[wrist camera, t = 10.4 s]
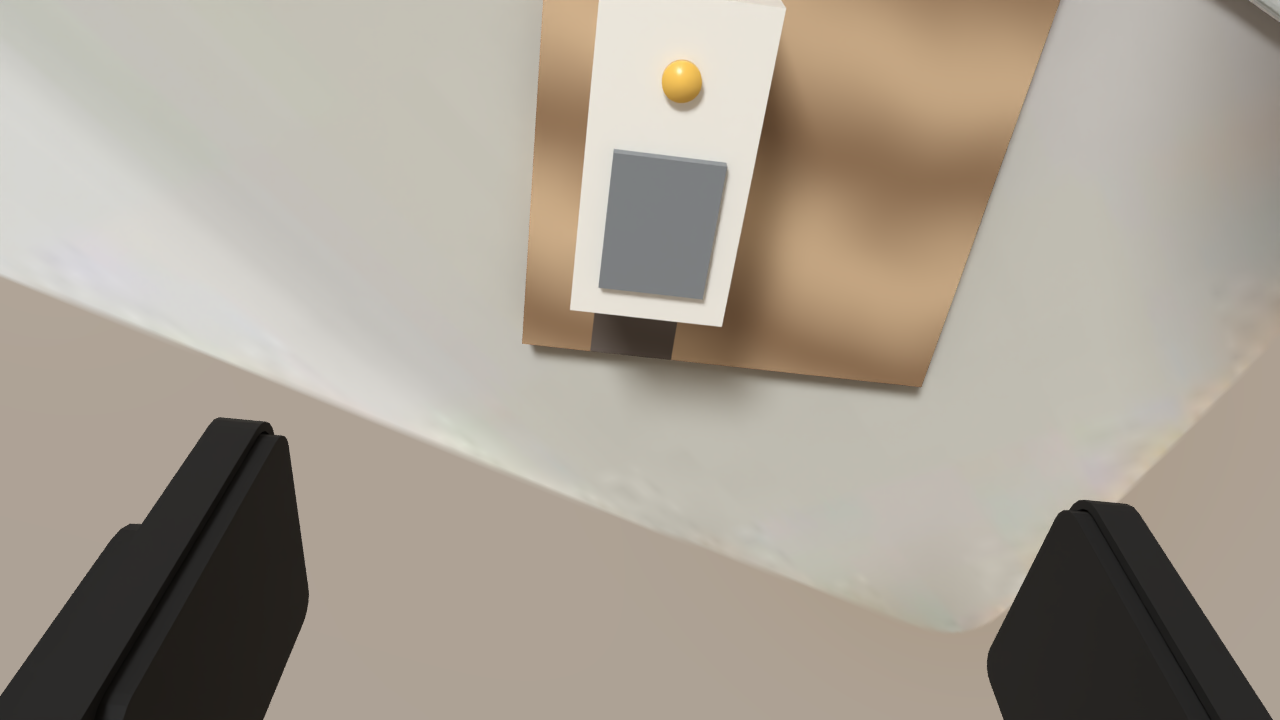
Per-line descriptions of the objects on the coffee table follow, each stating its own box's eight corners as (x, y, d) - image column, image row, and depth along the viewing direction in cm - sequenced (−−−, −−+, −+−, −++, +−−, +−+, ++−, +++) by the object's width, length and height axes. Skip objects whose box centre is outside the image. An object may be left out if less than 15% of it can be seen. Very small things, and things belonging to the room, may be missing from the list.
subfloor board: (561, -247, 24) (558, -248, 23) (1102, -166, 25) (1118, -164, 24) (525, 329, 33) (521, 343, 33) (914, 372, 34) (921, 387, 33)
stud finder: (608, -50, 25) (600, -15, 21) (763, -29, 26) (787, 11, 21) (580, 237, 30) (569, 315, 26) (711, 252, 30) (722, 331, 26)
